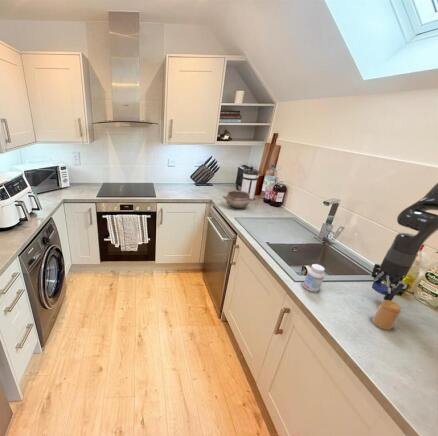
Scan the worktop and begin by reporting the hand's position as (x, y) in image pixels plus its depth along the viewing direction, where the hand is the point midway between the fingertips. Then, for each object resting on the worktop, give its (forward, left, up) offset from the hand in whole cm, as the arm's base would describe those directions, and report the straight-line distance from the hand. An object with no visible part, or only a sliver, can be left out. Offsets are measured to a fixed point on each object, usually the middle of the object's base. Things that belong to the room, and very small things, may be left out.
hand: (380, 294), depth 96 cm
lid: (0, 0, +3) cm, 3 cm away
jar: (+7, +13, -4) cm, 15 cm away
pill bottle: (+23, -6, -4) cm, 24 cm away
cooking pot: (+34, -106, -4) cm, 112 cm away
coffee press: (+22, -131, -4) cm, 133 cm away
